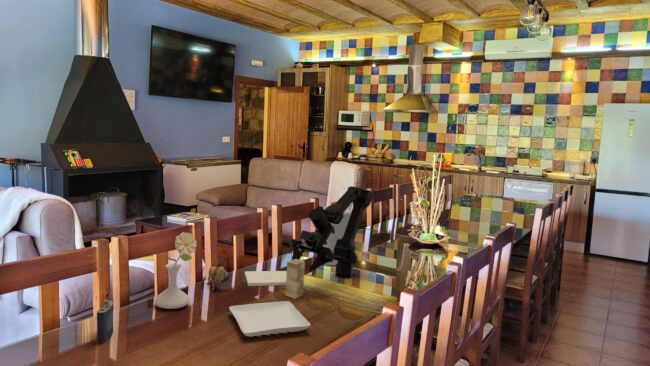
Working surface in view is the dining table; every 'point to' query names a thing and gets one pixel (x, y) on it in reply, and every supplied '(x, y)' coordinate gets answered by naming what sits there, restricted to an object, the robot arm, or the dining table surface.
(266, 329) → the salad plate
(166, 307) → the flower in vase
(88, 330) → the dining table surface
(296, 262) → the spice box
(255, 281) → the platter
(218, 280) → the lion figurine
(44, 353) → the dining table surface
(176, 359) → the dining table surface
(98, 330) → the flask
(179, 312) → the dining table surface
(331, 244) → the plastic bottle
